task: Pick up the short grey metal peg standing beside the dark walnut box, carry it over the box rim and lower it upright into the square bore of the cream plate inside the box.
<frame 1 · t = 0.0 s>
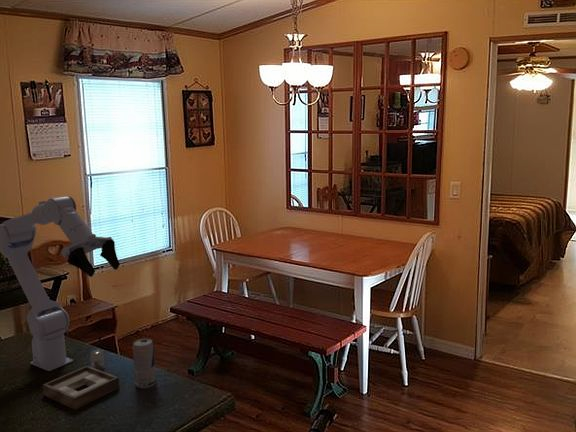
hand: (105, 270, 145), 32 cm above the table, tool tilted 50°, fingers open, 7 cm apart
peg: (98, 368, 162), on the table
energy drink: (145, 384, 152), on the table
bore box: (82, 391, 149), on the table
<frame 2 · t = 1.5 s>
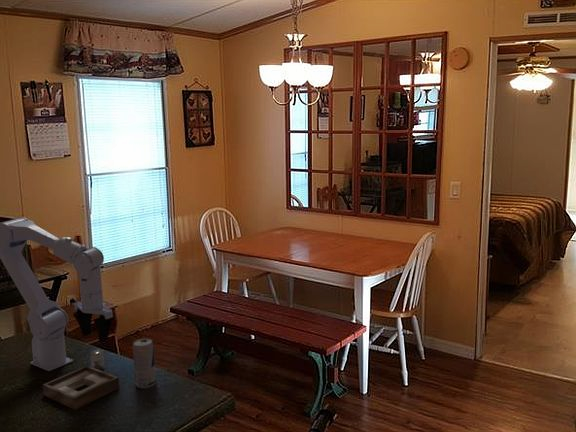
hand: (95, 337, 161), 9 cm above the table, tool pointing down, fingers open, 7 cm apart
nothing on the table moved.
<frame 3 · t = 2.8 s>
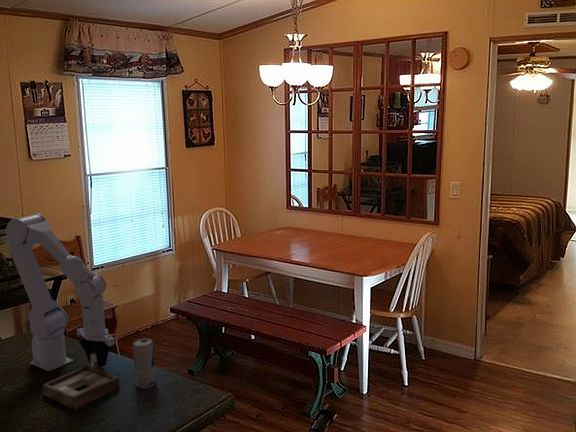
hand: (97, 364, 162), 1 cm above the table, tool pointing down, fingers closed on peg, 4 cm apart
peg: (98, 368, 162), on the table, touching gripper
everything else where it was.
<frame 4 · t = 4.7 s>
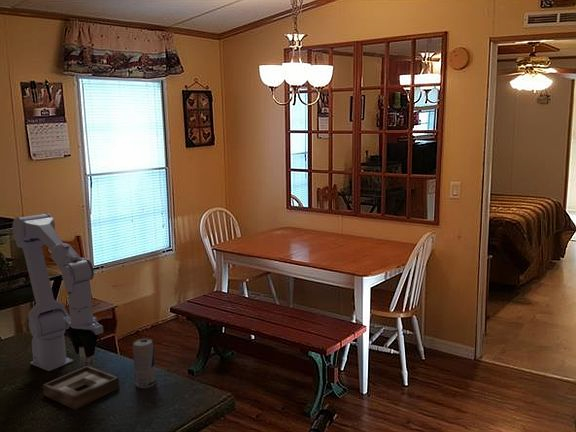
hand: (85, 354, 152), 8 cm above the table, tool pointing down, fingers closed on peg, 4 cm apart
peg: (87, 362, 152), point 6 cm above the table, touching gripper
everything else where it was.
when the fingers open (3 cm above the table, at t = 6.7 s): peg stays where it is, resting in bore box.
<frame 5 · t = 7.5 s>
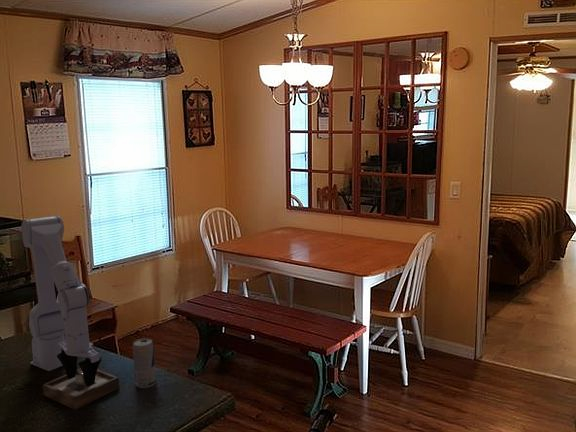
hand: (81, 381, 148), 3 cm above the table, tool pointing down, fingers open, 7 cm apart
peg: (83, 390, 149), resting in bore box
everything else where it was.
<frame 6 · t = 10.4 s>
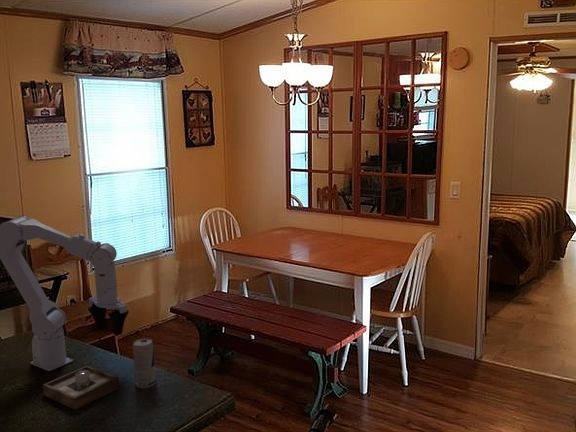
hand: (109, 331, 165), 9 cm above the table, tool pointing down, fingers open, 7 cm apart
nothing on the table moved.
at the end: peg 0.6 cm off-centre on the bore box, point 0.0 cm above the bore box's base; peg tilted 0°; the gripper is holding nothing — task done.
